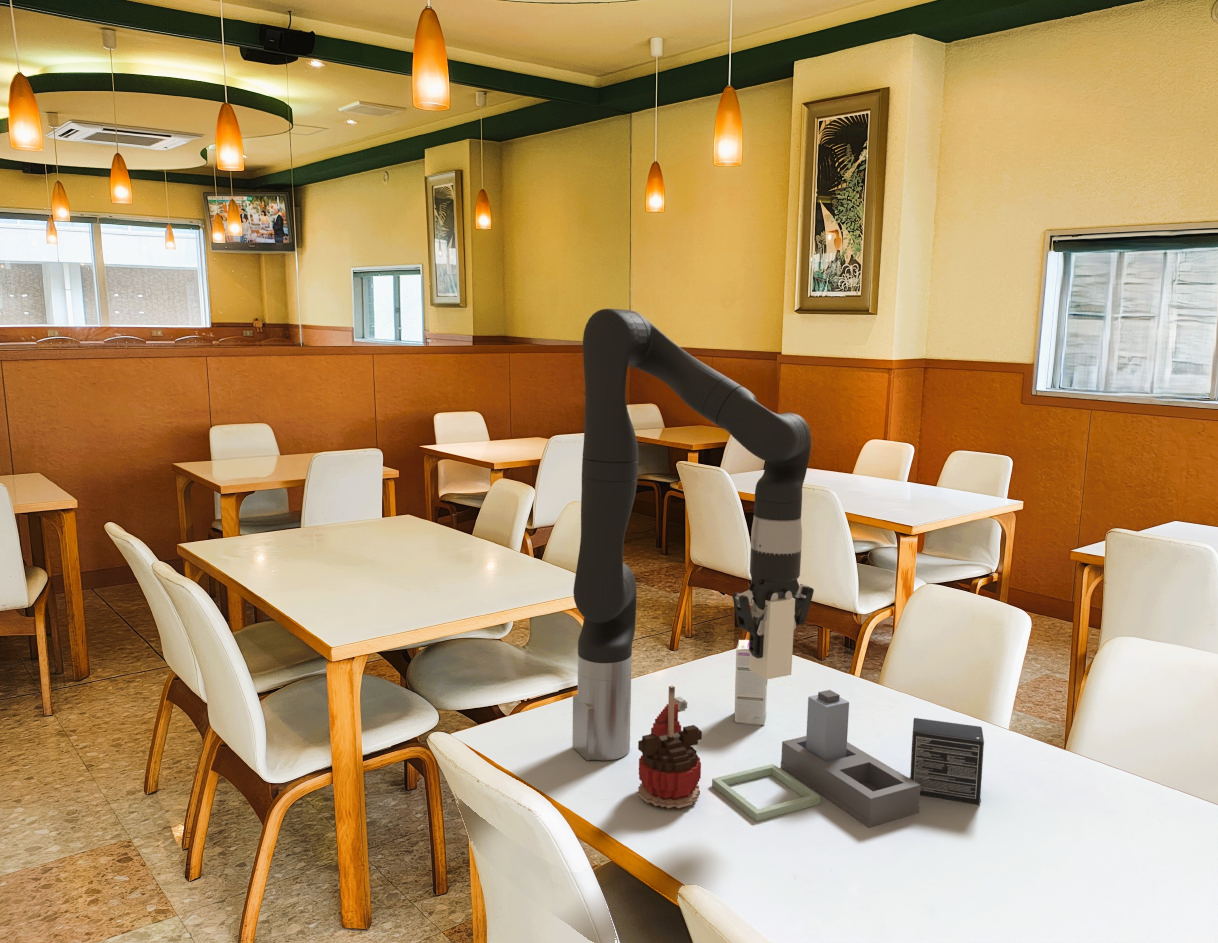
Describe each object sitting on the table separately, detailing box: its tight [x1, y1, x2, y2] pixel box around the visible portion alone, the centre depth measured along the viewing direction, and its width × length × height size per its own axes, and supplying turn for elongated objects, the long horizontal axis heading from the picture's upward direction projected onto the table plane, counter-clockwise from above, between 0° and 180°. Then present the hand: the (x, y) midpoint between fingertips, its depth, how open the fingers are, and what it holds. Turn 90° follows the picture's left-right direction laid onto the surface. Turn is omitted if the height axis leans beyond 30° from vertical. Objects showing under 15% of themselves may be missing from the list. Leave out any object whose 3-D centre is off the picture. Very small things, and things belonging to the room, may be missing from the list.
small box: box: [909, 717, 985, 805], centre depth 144 cm, size 11×6×10 cm, turn 71°
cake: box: [637, 685, 703, 809], centre depth 140 cm, size 11×9×18 cm
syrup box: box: [734, 639, 768, 726], centre depth 170 cm, size 6×6×14 cm
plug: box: [749, 592, 795, 680], centre depth 138 cm, size 5×5×13 cm
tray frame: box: [711, 763, 821, 822], centre depth 142 cm, size 12×12×1 cm
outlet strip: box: [780, 735, 921, 828], centre depth 144 cm, size 10×21×4 cm, turn 27°
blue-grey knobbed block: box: [805, 689, 850, 762], centre depth 148 cm, size 5×5×13 cm
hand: (770, 653), depth 139 cm, fingers closed on plug, 4 cm apart
